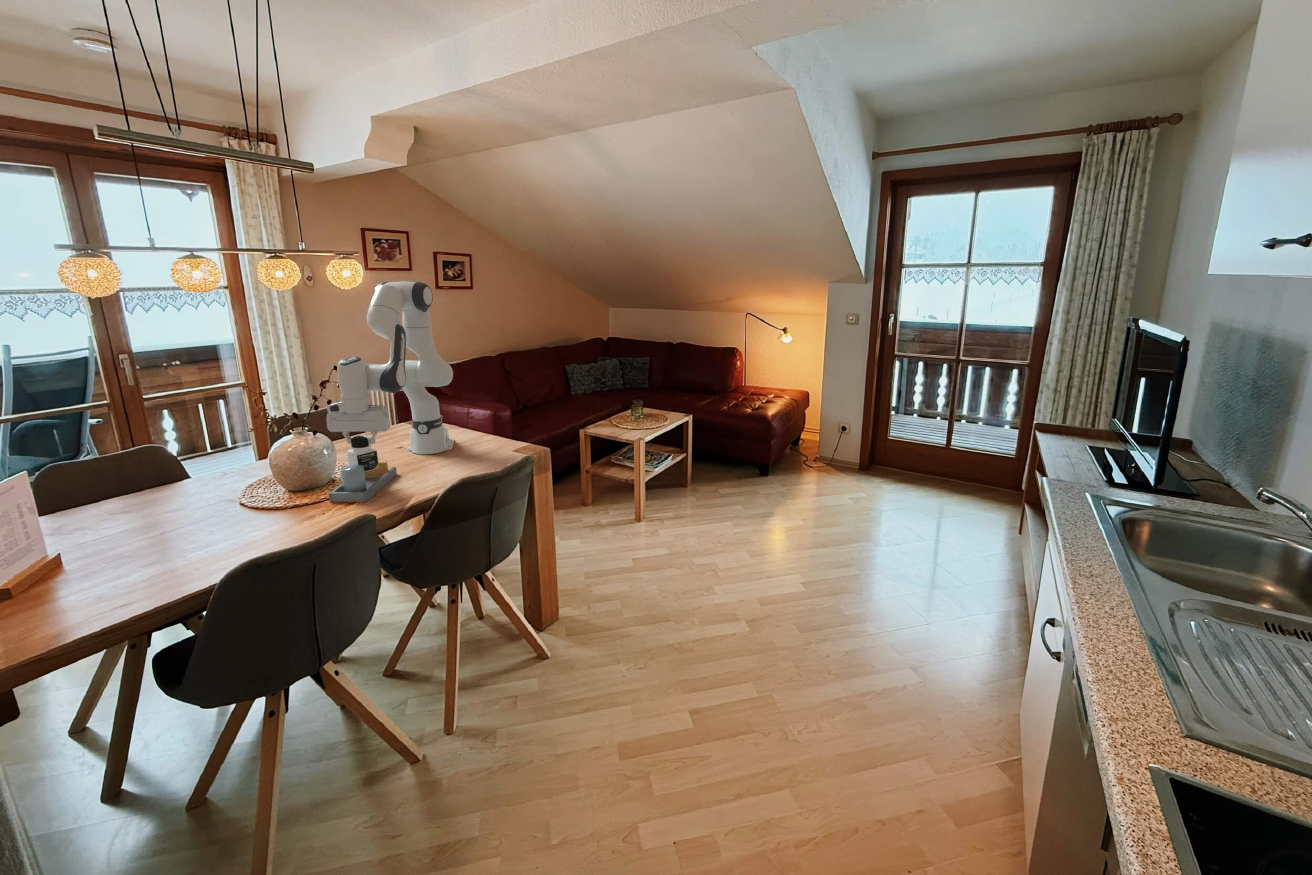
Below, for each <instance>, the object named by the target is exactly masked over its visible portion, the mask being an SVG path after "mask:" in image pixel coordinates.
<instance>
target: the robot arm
mask: <svg viewBox="0 0 1312 875" xmlns="http://www.w3.org/2000/svg"><path fill="white" fill-rule="evenodd" d="M433 299H434V297H433V292H432V288H431V287H430V286H429V284H427V283H425V282H421V281H416V282H415V281H409V280H406V281H405V280H400V281H390V282H388V281H383V282H379V283H378V284H377V285H376V286H375V287H374V289H373V295H372V298H371V301H370V303H369V305H368V309H367V313H366V324H367V326H368V328H369V329H370V330H371V331H372V333H374V334H376V335H377V336H379V337H380V338H383V339H386V340H388V341H389V345H390V346H389V347H390V348H389V359H388V362H387V363H384V364H378V363H368V362H366V361H363V359H362V358H361V357H359V356H349V357H344V358H341V359H340V360H339V361H338V363H337V382H338V387H339V389H340V400H338V401H336V402H332V403H331V404H329V405H327V406H326V411H327V414H326V427H327V429H328V431H329V432H331V433H333V432H335V433H336V432H337V433H339V432H341V433H342V436H343V437H344V438H345V439H346V442H347V443H346V444H349V445H351V438H352V436H350V434H349V433H350V432H354V433H355V432H357V433H358V432H359V433H360V432H362V433H363V432H364V433H365V432H368V433H369V432H370V435H372V436H371V437H370V439H369V443H370V444H375V443H376V436H377V435H378V433H379V432H382V433H383V432H386V431H388V430H389V429H390V428H391V423H390V422H391V421H390V418H389V409H388V408H387V407H386V406H385V405H383V404H371V399H370V393H369V392H384V393H390V394H396V393H398V392H399V391H401V390H402V392H404V394H405V395H406V397H407V398H408V402H409V404H410V410H411V416H412V417H411V428H412V429H411V430H410V431H409V446H407V451H409V452H412V453H413V454H416V455H432V454H439V453H443V452H445V451H446V452H447V451H451V450H453V447H454V443H455V438H453V437H449V436H450V435H449V430H448V428H447V427H446V426H444V424H443V414H441V412H440V404H439V403H440V402H439V400H438V398H437V397H436V396H435V395H433V394H431V393H429V392H428V390H427V389H426V387H427V388H428V387H429V388H433V387H434V388H440V387H445V386H448V385H449V384H450V383H451V382H452V380H453V379H454V378H453V377H454V371H453V368H452V366H451V364H450V363H448V362H447V361H446V360H444V359H443V358H442V357H441V355H440V354H439V353H438V351H437V349H436V345H435V341H434V336H433V327H432V326H433V324H432V318H431V313H430V310H429V308H430V307H431V306H432V303H433ZM401 318H402V319H401ZM401 321H402V325H401ZM407 349H408V350H409V351H411V352H413V353H414V354H415V355H416V356H417V358H418V359H417V360H414V359H413V360H412V359H410V360H409V359H407V360H406V350H407ZM368 391H369V392H368Z"/></svg>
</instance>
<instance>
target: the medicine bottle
mask: <svg viewBox="0 0 1312 875" xmlns="http://www.w3.org/2000/svg"><path fill="white" fill-rule="evenodd" d="M370 438H371V437H370V436H368V435H364V434H362V435H360V434H359V435H356V436H353V437H351V444H350V446H351V449H349V450H348V449H347V451H346V453H347V460H348V461H347V462H348V465H363V467H364V472H367V471H371V470H375V469H378V468H379V464H378V462H379V456H378V451H377V449H376V448H373V447H372V445H371V444H370V443H369V439H370Z"/></svg>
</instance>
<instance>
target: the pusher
mask: <svg viewBox="0 0 1312 875" xmlns="http://www.w3.org/2000/svg"><path fill="white" fill-rule="evenodd" d="M378 464H379V468H378V469H375V470H371V471H367V472H364V474H365V478H381V477H382V476H383V475H384V474H385V473H386V472H387V471H389V464H388V461H378Z"/></svg>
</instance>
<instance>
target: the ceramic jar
mask: <svg viewBox="0 0 1312 875" xmlns="http://www.w3.org/2000/svg"><path fill="white" fill-rule="evenodd" d="M340 476H341V483H343V490H344V492H365V491H366V490H367V488H366V481H365V474H364V467H363V465H349V464H348V465H346V466H343V467H341V468H340Z"/></svg>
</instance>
